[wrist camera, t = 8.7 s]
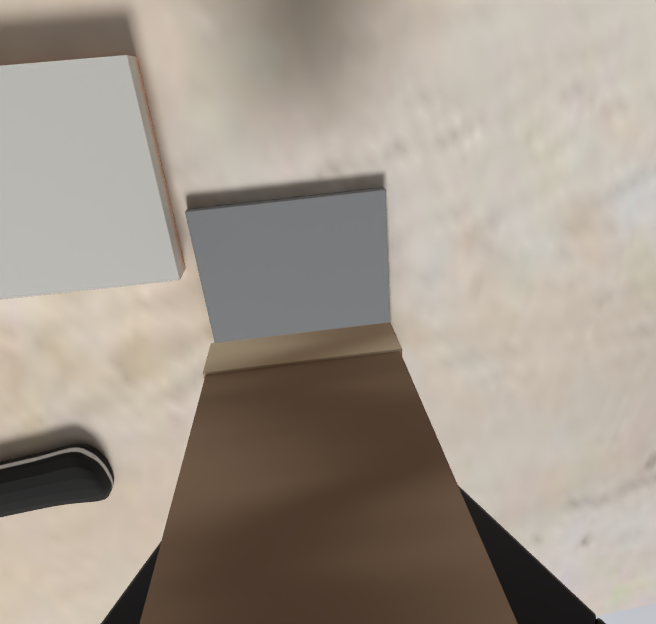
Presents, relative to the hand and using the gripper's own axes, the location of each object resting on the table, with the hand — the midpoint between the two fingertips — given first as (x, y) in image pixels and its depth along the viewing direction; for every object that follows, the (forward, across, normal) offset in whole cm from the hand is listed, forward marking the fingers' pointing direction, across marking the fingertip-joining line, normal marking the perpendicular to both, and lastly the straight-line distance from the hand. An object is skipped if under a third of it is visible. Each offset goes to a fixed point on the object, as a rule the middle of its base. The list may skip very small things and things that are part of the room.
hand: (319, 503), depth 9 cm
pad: (+10, 0, 0) cm, 10 cm away
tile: (+10, +8, -1) cm, 13 cm away
